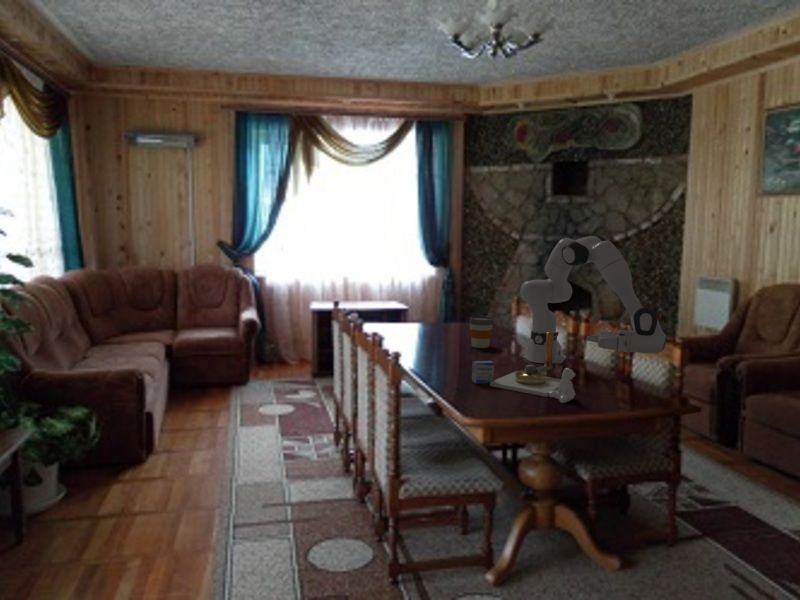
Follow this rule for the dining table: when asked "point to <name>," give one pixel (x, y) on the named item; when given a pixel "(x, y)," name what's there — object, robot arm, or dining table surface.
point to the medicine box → (482, 372)
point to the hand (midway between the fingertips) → (586, 338)
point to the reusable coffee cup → (480, 331)
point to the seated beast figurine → (564, 387)
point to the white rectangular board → (540, 390)
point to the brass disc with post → (540, 371)
